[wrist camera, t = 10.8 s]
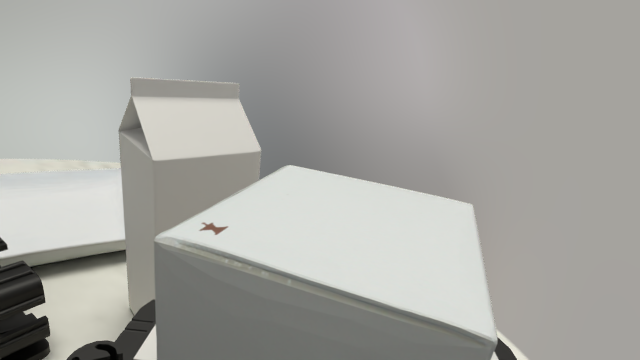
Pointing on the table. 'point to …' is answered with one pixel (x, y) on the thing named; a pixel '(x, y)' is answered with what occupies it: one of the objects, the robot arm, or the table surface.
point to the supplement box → (324, 275)
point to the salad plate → (60, 215)
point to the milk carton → (178, 163)
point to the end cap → (21, 313)
